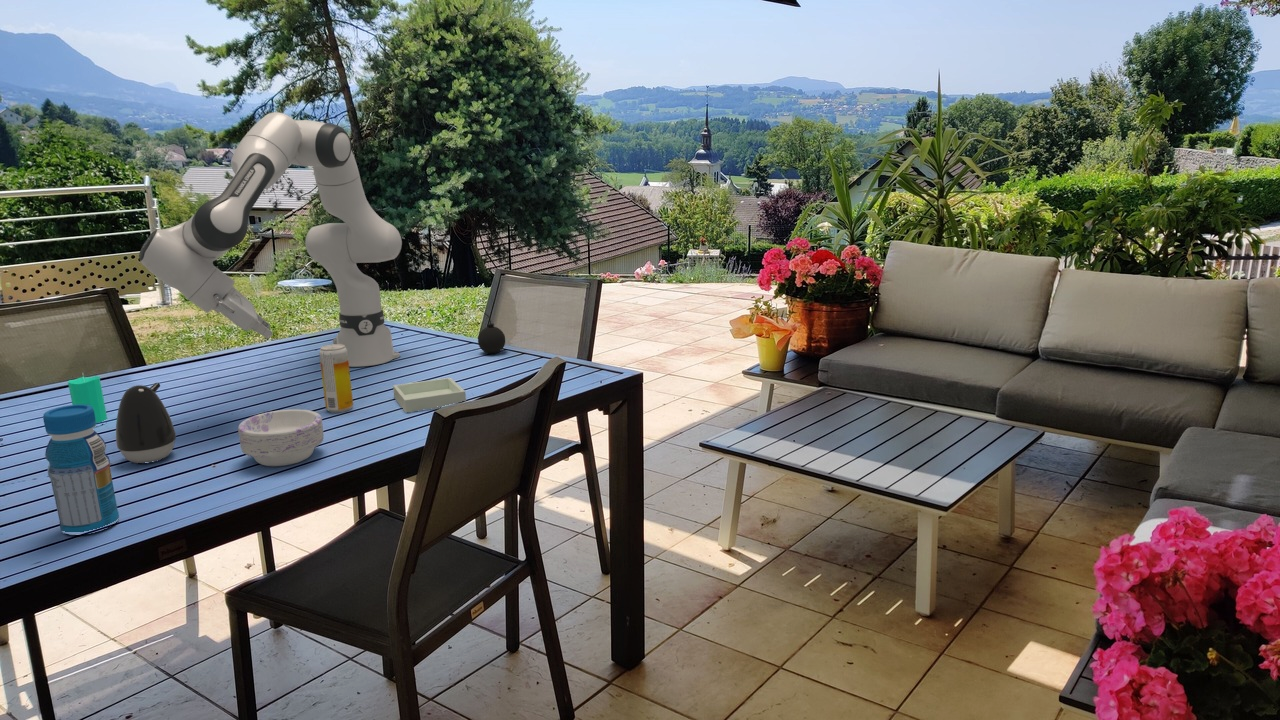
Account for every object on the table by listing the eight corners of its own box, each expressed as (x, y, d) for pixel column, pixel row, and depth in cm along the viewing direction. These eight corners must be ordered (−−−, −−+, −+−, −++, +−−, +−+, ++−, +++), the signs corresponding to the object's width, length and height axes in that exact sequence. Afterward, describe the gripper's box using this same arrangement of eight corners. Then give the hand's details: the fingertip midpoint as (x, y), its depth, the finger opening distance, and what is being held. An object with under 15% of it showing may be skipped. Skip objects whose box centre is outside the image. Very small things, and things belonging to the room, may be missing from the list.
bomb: (509, 350, 251) (507, 310, 248) (500, 357, 244) (498, 316, 241) (484, 349, 253) (481, 310, 250) (474, 356, 245) (471, 315, 242)
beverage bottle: (69, 543, 134) (44, 422, 129) (53, 528, 139) (28, 411, 134) (128, 524, 140) (107, 408, 135) (110, 511, 145) (89, 399, 140)
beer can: (357, 405, 201) (351, 343, 198) (346, 413, 195) (339, 350, 192) (333, 405, 202) (326, 343, 198) (321, 413, 196) (313, 349, 192)
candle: (114, 421, 194) (104, 370, 191) (90, 429, 188) (80, 377, 185) (94, 419, 195) (85, 368, 192) (70, 427, 190) (59, 375, 187)
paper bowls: (323, 466, 163) (319, 427, 161) (237, 477, 159) (231, 436, 157) (328, 441, 177) (323, 404, 176) (249, 450, 173) (243, 412, 171)
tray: (394, 397, 207) (393, 385, 206) (451, 389, 213) (450, 377, 212) (406, 413, 195) (404, 400, 194) (466, 404, 201) (465, 391, 200)
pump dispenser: (191, 451, 173) (179, 379, 169) (152, 470, 163) (138, 394, 160) (148, 448, 175) (136, 377, 172) (107, 466, 166) (93, 391, 162)
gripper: (225, 287, 173) (282, 329, 180) (223, 275, 191) (276, 313, 198) (203, 310, 172) (262, 352, 179) (204, 296, 190) (257, 334, 197)
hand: (269, 332), depth 188 cm, fingers open, 8 cm apart
